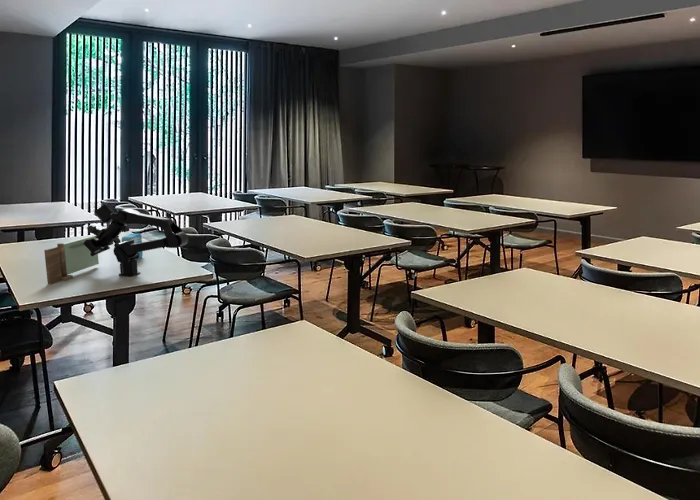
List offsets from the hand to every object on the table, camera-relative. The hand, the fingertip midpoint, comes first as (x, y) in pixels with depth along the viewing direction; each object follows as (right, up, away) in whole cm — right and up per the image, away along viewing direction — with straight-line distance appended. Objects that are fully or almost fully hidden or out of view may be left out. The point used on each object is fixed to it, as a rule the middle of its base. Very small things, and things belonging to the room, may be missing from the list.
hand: (91, 255), depth 248 cm
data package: (+7, -2, +28) cm, 29 cm away
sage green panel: (-5, -6, +1) cm, 8 cm away
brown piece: (-8, -10, -13) cm, 18 cm away
